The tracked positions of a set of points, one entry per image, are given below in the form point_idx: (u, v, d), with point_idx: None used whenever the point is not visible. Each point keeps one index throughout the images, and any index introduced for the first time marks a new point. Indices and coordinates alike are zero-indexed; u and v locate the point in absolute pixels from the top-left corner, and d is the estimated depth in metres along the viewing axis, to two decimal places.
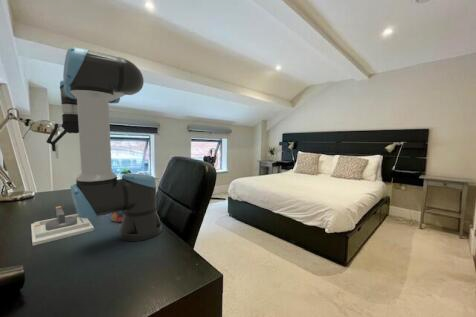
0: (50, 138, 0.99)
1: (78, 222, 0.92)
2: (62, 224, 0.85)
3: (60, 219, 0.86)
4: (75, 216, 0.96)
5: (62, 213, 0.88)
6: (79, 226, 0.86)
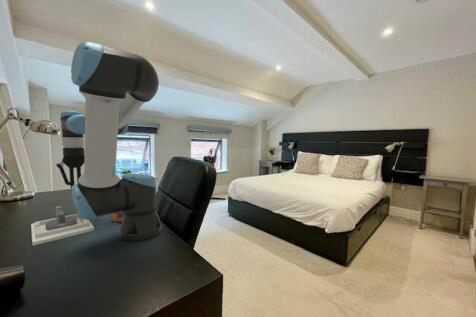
0: (66, 179, 0.93)
1: (78, 222, 0.92)
2: (62, 224, 0.85)
3: (60, 219, 0.86)
4: (75, 216, 0.96)
5: (62, 213, 0.88)
6: (79, 226, 0.86)
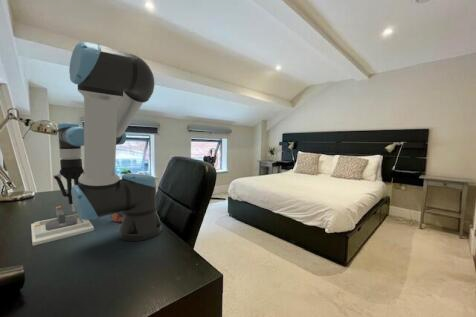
0: (64, 191, 0.93)
1: (78, 222, 0.92)
2: (62, 224, 0.85)
3: (60, 219, 0.86)
4: (75, 216, 0.96)
5: (62, 213, 0.88)
6: (79, 226, 0.86)
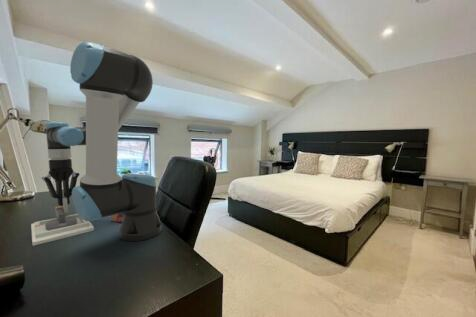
0: (54, 193, 0.90)
1: (78, 222, 0.92)
2: (62, 224, 0.85)
3: (60, 219, 0.86)
4: (75, 216, 0.96)
5: (62, 213, 0.88)
6: (79, 226, 0.86)
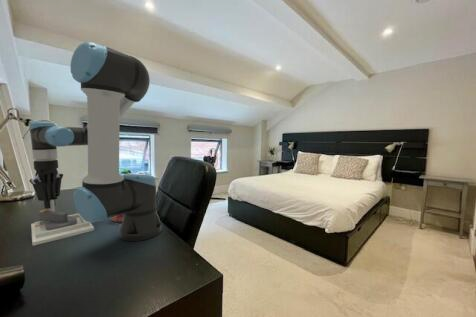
0: (44, 195, 0.87)
1: (78, 222, 0.92)
2: (68, 222, 0.87)
3: (64, 218, 0.87)
4: (75, 216, 0.96)
5: (62, 213, 0.88)
6: (79, 226, 0.86)
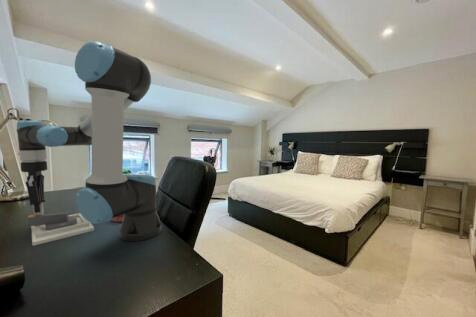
0: (38, 197, 0.83)
1: (78, 222, 0.92)
2: (72, 220, 0.89)
3: (67, 217, 0.88)
4: (75, 216, 0.96)
5: None
6: (79, 226, 0.86)
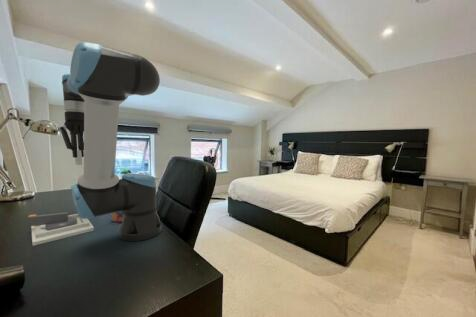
0: (69, 143, 0.93)
1: (78, 222, 0.92)
2: (72, 220, 0.89)
3: (67, 217, 0.88)
4: (75, 216, 0.96)
5: None
6: (79, 226, 0.86)
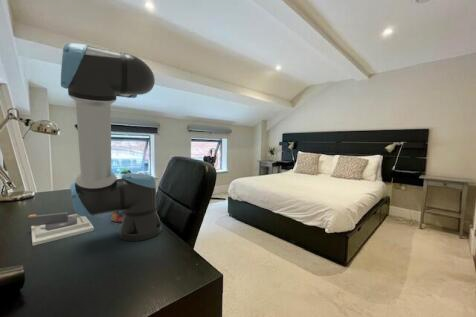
0: None
1: (78, 222, 0.92)
2: (72, 220, 0.89)
3: (67, 217, 0.88)
4: (75, 216, 0.96)
5: None
6: (79, 226, 0.86)
